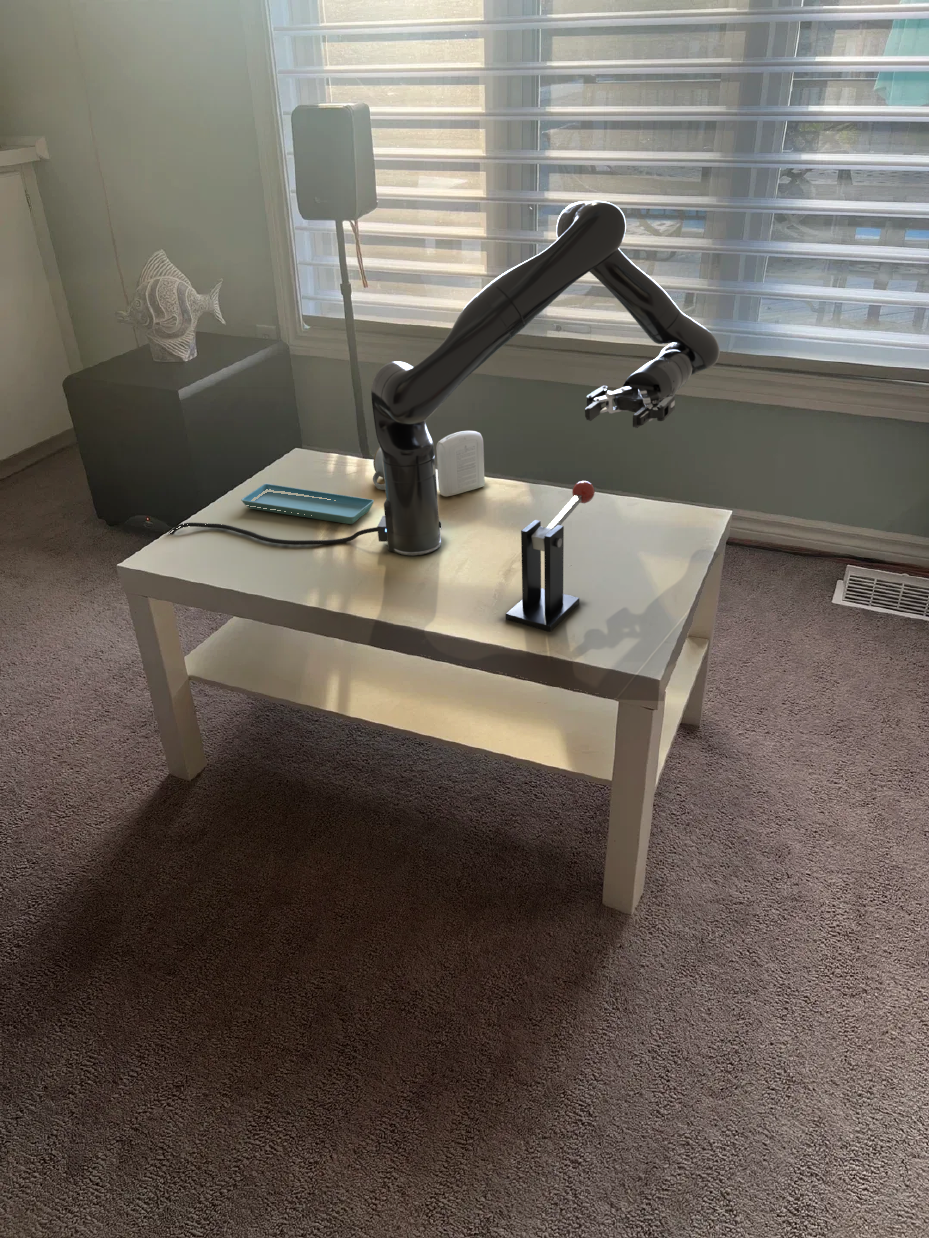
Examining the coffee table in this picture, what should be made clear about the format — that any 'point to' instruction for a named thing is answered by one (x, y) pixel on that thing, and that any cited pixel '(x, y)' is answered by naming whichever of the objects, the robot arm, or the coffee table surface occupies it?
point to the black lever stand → (536, 602)
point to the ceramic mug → (378, 469)
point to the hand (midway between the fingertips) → (611, 418)
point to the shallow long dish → (309, 504)
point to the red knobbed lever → (564, 512)
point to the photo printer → (460, 462)
